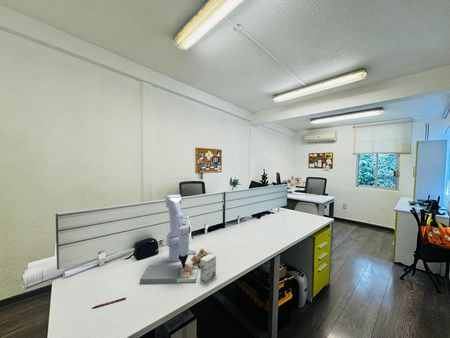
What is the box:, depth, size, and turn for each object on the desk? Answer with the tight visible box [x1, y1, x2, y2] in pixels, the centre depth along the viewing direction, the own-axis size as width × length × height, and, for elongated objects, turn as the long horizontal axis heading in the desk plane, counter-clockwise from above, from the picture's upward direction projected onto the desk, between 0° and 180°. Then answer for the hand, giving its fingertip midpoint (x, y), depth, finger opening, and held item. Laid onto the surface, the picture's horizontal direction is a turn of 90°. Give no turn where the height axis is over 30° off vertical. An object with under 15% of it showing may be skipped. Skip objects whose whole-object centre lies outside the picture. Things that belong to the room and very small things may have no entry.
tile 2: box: [181, 272, 190, 279], centre depth 101 cm, size 4×4×2 cm
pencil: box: [91, 297, 127, 309], centre depth 83 cm, size 1×14×1 cm, turn 117°
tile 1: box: [184, 263, 194, 273], centre depth 107 cm, size 4×4×2 cm
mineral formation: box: [190, 248, 213, 267], centre depth 116 cm, size 8×13×15 cm
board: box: [139, 264, 182, 285], centre depth 104 cm, size 13×20×2 cm, turn 93°
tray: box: [176, 265, 199, 284], centre depth 104 cm, size 12×10×2 cm
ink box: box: [199, 252, 217, 282], centre depth 103 cm, size 9×5×12 cm, turn 141°
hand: (183, 266), depth 108 cm, fingers closed
